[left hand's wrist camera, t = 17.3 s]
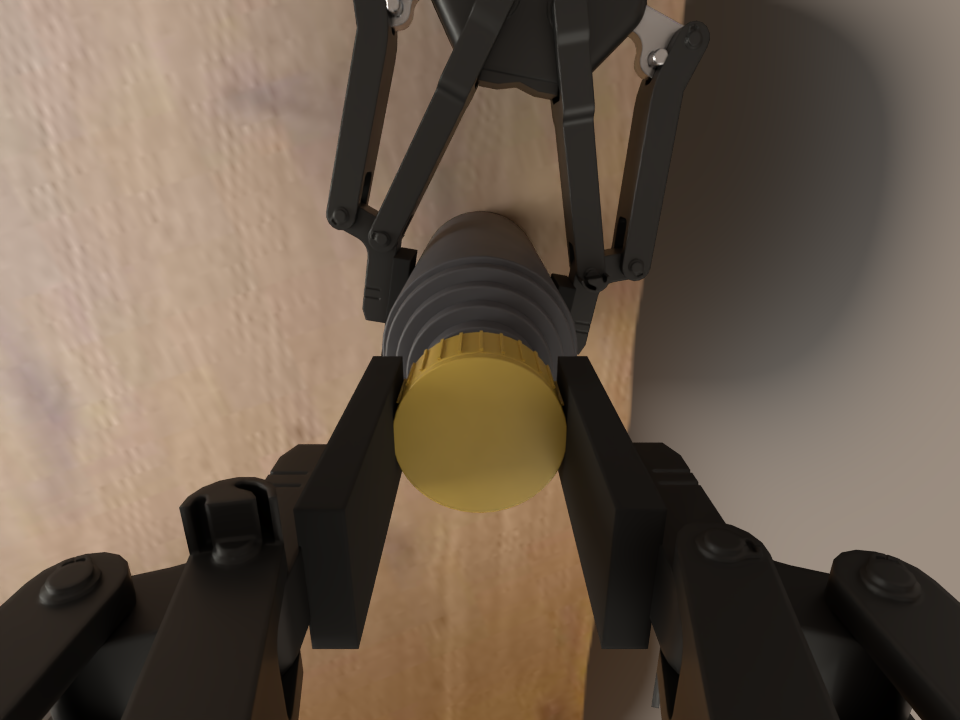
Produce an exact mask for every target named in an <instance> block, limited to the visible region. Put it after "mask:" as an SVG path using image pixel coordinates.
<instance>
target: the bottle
mask: <svg viewBox="0 0 960 720" xmlns="http://www.w3.org/2000/svg"><path fill="white" fill-rule="evenodd" d="M480 331H483V332H488V333H495V334H500V333H503V336H507V337H510V338H512V339H514V340H516V341H518V340H520V341H522V344H524V345H525V346H527V347H528V348H529V349H531V350H532V351H533V352H534V351H536V352H537V353H538V357H539V358H540V359H541V360H542V361H543V362H544V364H545V365H548V366H549V367H550V371H551V374H552V377H553V380H554V381H556V382H557V363H558V356H577V335H576V330H575V325H574V322H573V319H572V316H571V314H570V311H569V309H568V307H567V306H566V304H565V302H564V300H563V298H562V296H561V295H560V293H559V291H558V289H557V288H556V286H555V284H554V282H553V281H552V279H551V277H550V275H549V274H548V272H547V270H546V268H545V267H544V265H543V263H542V261H541V259H540V258H539V256H538V254H537V252H536V251H535V249H534V247H533V245H532V244H531V242H530V240H529V238H528V237H527V236H526V234H525V233H524V232H523V231H522V229H521V228H520V227H519V226H517V225H516V224H515V223H514V222H512V221H511V220H509V219H507V218H506V217H503V216H501V215H498V214H495V213H491V212H469V213H465V214H461V215H459V216H457V217H454V218H452V219H451V220H449V221H447V222H446V223H445V224H444V225H442V226H441V227H440V228H439V229H438V230H437V231H436V233H435V234H434V235H433V237H432V238H431V240H430V242H429V243H428V245H427V247H426V249H425V250H424V252H423V254H422V256H421V257H420V259H419V261H418V263H417V264H416V266H415V268H414V270H413V271H412V273H411V275H410V277H409V279H408V280H407V282H406V284H405V286H404V287H403V289H402V291H401V293H400V294H399V296H398V298H397V300H396V301H395V303H394V305H393V307H392V309H391V311H390V313H389V316H388V318H387V321H386V324H385V329H384V333H383V344H382V351H383V356H403V375H404V378H405V379H407V377H408V375H409V372H410V369H411V366H412V364H413V362H414V363H416V362H417V361H418V360H419V358H420V357H421V356H422V355H423V354H424V351H425V350H426V349H428V350H429V349H430V348H432V347H433V346H435V345H436V344H438V343H439V342H440V341H441V339H443V338H444V340H445V339H448V338H450V337H453V336H456V335H459V334H460V333H461V332H463V334H465V333H473V332H480Z"/></svg>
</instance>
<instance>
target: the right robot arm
mask: <svg viewBox="0 0 960 720" xmlns="http://www.w3.org/2000/svg"><path fill="white" fill-rule="evenodd" d="M418 1H419V0H353V3H354V10H355V17H356V24H357V31H356V37H355V43H354V49H353V55H352V61H351V67H350V73H349V79H348V85H347V91H346V97H345V103H344V109H343V115H342V121H341V127H340V133H339V139H338V145H337V151H336V157H335V163H334V169H333V175H332V181H331V187H330V193H329V199H328V205H327V211H326V217H327V220H328V222H329V224H330V225H331V226H332V227H333V228H335V229H338V230H344V231H346V232H348V233H349V234H351V235H353V236H355V237H357V238H358V239H360V240H361V241H362V242H363V243H364V245H365V247H366V248H367V252H368V260H367V269H366V279H365V289H364V299H363V308H362V309H363V312H364V315H365V319H366V320H370V321H376V322H382V323H385V324H386V321H387V318H388V316H389V313H390V311H391V309H392V307H393V305H394V303H395V301H396V300H397V298H398V296H399V294H400V293H401V291H402V289H403V287H404V286H405V284H406V282H407V280H408V279H409V277H410V275H411V273H412V271H413V270H414V268H415V265H416V257H417V250H414V249H408V248H403V247H401V242H402V238H403V237H404V236H405V235H404V234H405V232H406V230H407V228H408V226H409V224H410V222H411V220H412V218H413V216H414V214H415V212H416V210H417V208H418V205H419V203H420V201H421V199H422V197H423V195H424V193H425V191H426V189H427V187H428V185H429V183H430V181H431V179H432V177H433V175H434V173H435V171H436V169H437V167H438V165H439V163H440V161H441V159H442V157H443V155H444V153H445V151H446V149H447V147H448V145H449V143H450V141H451V139H452V137H453V134H454V132H455V130H456V128H457V126H458V124H459V122H460V120H461V118H462V116H463V114H464V112H465V110H466V108H467V107H468V105H469V103H470V101H471V99H472V97H473V95H474V93H475V91H476V89H477V87H478V85H479V86H482V87H487V88H492V89H506V88H518V89H520V90H522V91H524V92H526V93H528V94H530V95H532V96H534V97H539V98H544V99H549V100H551V108H552V117H553V122H554V125H555V132H556V142H557V151H558V161H559V170H560V180H561V189H562V199H563V208H564V218H565V228H566V237H567V247H568V256H569V266H570V273H569V277H567V276H565V275H559V274H553V273H552V274H551V279H552V281H553V282H554V284H555V286H556V288H557V289H558V291H559V293H560V295H561V296H562V298H563V300H564V302H565V304H566V306H567V307H568V309H569V311H570V314H571V316H572V319H573V322H574V325H575V330H576V335H577V354H578V355H579V353H580V352H581V350H582V349H583V348H584V346H585V345H586V341H587V337H588V332H589V329H590V324H591V321H592V317H593V313H594V309H595V305H596V301H597V297H598V294H599V292H600V291H602V290H604V289H605V288H606V287H607V285H608V284H609V283H612V282H617V281H622V280H628V279H629V280H632V281H638V280H641V279H643V278H645V276H646V275H647V274H648V273H649V270H650V267H651V261H652V256H653V251H654V246H655V240H656V235H657V230H658V225H659V219H660V214H661V209H662V203H663V198H664V193H665V187H666V182H667V177H668V172H669V166H670V161H671V156H672V150H673V145H674V140H675V134H676V129H677V124H678V119H679V113H680V108H681V103H682V97H683V92H684V90H685V88H686V86H687V84H688V82H689V80H690V79H691V77H692V75H693V73H694V71H695V69H696V67H697V65H698V63H699V62H700V60H701V58H702V56H703V54H704V52H705V50H706V48H707V46H708V43H709V40H710V33H709V30H708V28H707V26H706V25H705V24H704V23H702V22H699V21H693V22H689V23H688V24H686V25H682V24H680V23H678V22H676V21H674V20H673V19H671V18H669V17H667V16H665V15H664V14H662V13H660V12H658V11H656V10H655V9H653V8H651V7H649V6H648V5H647V0H431V1H432V3H433V5H434V8H435V10H436V12H437V14H438V17H439V19H440V21H441V23H442V25H443V28H444V30H445V32H446V34H447V37H448V39H449V41H450V43H451V46H452V48H453V51H452V54H451V56H450V58H449V60H448V62H447V64H446V66H445V68H444V71H443V73H442V75H441V77H440V80H439V83H438V86H437V89H436V91H435V93H434V95H433V97H432V100H431V102H430V104H429V106H428V108H427V110H426V112H425V114H424V117H423V119H422V121H421V123H420V125H419V127H418V129H417V131H416V134H415V136H414V138H413V140H412V142H411V144H410V146H409V148H408V151H407V153H406V155H405V157H404V159H403V161H402V163H401V165H400V168H399V170H398V172H397V174H396V176H395V178H394V180H393V182H392V185H391V187H390V189H389V191H388V193H387V195H386V197H385V199H384V202H383V204H382V206H381V208H380V210H379V211H377V210H375V209H373V208H372V207H370V206H368V201H369V196H370V191H371V186H372V180H373V175H374V170H375V165H376V160H377V154H378V149H379V144H380V139H381V133H382V128H383V123H384V118H385V113H386V107H387V102H388V97H389V92H390V86H391V81H392V76H393V71H394V65H395V60H396V52H397V31H401V30H405V29H406V28H408V27H409V25H410V24H411V22H412V20H413V14H414V8H415V6H416V4H417V2H418ZM627 37H629V38H631V39H632V40H633V42H634V43H635V46H636V56H635V61H634V69H635V72H636V74H637V75H638V76H639V77H640V78H642V79H643V80H642V82H641V84H640V87H639V90H638V94H637V97H636V102H635V106H634V112H633V118H632V124H631V131H630V137H629V143H628V149H627V155H626V161H625V168H624V174H623V180H622V186H621V192H620V198H619V205H618V211H617V217H616V223H615V229H614V235H613V242H612V248H611V249H606V250H604V243H603V231H602V219H601V206H600V194H599V182H598V170H597V158H596V146H595V133H594V112H595V102H594V90H593V77H592V72H593V71H594V70H595V69H596V68H597V67H598V66H599V65H600V64H601V63H602V62H603V61H604V60H605V59H606V58H607V57H608V56H609V55H610V54H611V53H612V52H613V51H614V50H615V49H616V48H617V47H618V46H619V45H620V44H621V43H622V42H623V41H624V40H625V39H626V38H627ZM381 356H383V351H382V355H381Z"/></svg>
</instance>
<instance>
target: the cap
mask: <svg viewBox="0 0 960 720" xmlns="http://www.w3.org/2000/svg"><path fill="white" fill-rule="evenodd" d="M396 403H398V407H397V410H396V413H395V417H394V421H393V426H394V444H395V456H396V459H397V461H398V463H399V466H400V468H401V470H402V471H403V473H404V474H405V476H406V477H407V479H408V480H409V481H410V482H411V483H412V484H413V486H414V487H415V488H416V489H418V490H419V491H420V492H421V493H422V494H424V495H425V496H427V497H428V498H429V499H431V500H433V501H435V502H437V503H439V504H441V505H443V506H446V507H448V508H451V509H455V510H459V511H465V512H473V513H486V512H495V511H500V510H505V509H508V508H511V507H514V506H517V505H519V504H521V503H523V502H525V501H527V500H528V499H530V498H532V497H533V496H535V495H536V494H537V493H539V492H540V491H541V490H542V489H543V488H544V487H545V486H546V485H547V484H548V483H549V482H550V481H551V479H552V478H553V477H554V476H555V474H556V472H557V471H558V469H559V467H560V465H561V463H562V460H563V458H564V455H565V449H566V432H567V423H566V418H565V414H564V411H563V408H562V406H564V403H563V400H562V397H561V394H560V391H559V388H558V385H557V382H556V381H554V380H553V377H552V374H551V371H550V367H549V366H548V365H545V364H544V362H543V361H542V360H541V359H540V358H539V357H538V353H537V352H536V351H534V352H533V351H532V350H531V349H529V348H528V347H527V346H525V345H524V344H522V341H520V340H518V341H516V340H514V339H512V338H510V337H507V336H503V333H500V334H495V333H488V332H483V331H480V332H473V333H465V334H463V332H461V333H460V334H459V335H456V336H453V337H450V338H448V339H445V340H444V338H443V339H441V341H440V342H439V343H438V344H436V345H435V346H433V347H432V348H430V349H429V350H428V349H426V350H425V351H424V354H423V355H422V356H421V357H420V358H419V360H418V361H417V362H416V363H414V362H413V364H412V366H411V369H410V372H409V375H408V377H407V379H405V378H404V381H403V384H402V387H401V390H400V393H399V396H398V399H397V402H396Z"/></svg>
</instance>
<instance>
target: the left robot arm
mask: <svg viewBox="0 0 960 720" xmlns="http://www.w3.org/2000/svg"><path fill="white" fill-rule="evenodd" d="M403 381H404V375H403V356H373V358H372V359H371V361H370V363H369V365H368V367H367V369H366V371H365V373H364V375H363V377H362V379H361V380H360V382H359V384H358V386H357V388H356V390H355V392H354V394H353V396H352V398H351V400H350V401H349V403H348V405H347V407H346V409H345V411H344V413H343V415H342V417H341V419H340V420H339V422H338V424H337V426H336V428H335V430H334V432H333V434H332V436H331V438H330V440H329V441H328V443H327V444H298V445H297V446H295V447H294V448H292V449H291V450H290V451H288V452H287V453H285V454H284V455H282V456H281V457H280V458H279V460H278V461H277V463H276V464H275V466H274V467H273V469H272V470H271V472H270V475H268V476H267V478H266V479H265V480H264V479H260V478H256V477H236V478H231V479H226V480H221V481H218V482H215V483H213V484H210V485H208V486H205V487H202V488H201V489H199V490H198V491H196V492H195V493H193V494H192V495H190V496H188V497H187V499H186V500H185V501H184V502H183V503H182V505H181V506H180V507H179V509H180V513H181V517H182V522H183V526H184V531H185V535H186V540H187V544H188V549H189V553H190V556H189V558H188V560H187V563H185V564H181V565H178V566H174V567H171V568H166V569H162V570H157V571H152V572H148V573H143V574H138V575H133V576H131V573H130V569H129V566H128V562H127V561H126V560H125V559H123V558H122V557H121V556H120V555H117V554H112V553H107V552H102V553H92V554H84V555H81V556H76V557H73V558H70V559H67V560H64V561H62V562H60V563H58V564H56V565H54V566H52V567H50V568H48V569H46V570H44V571H42V572H41V573H40V574H38V575H37V576H35V577H34V578H33V579H31V580H30V581H28V582H27V583H26V584H25V585H24V586H22V587H21V588H20V589H19V590H18V591H17V592H16V593H15V594H14V595H12V596H11V597H10V598H9V599H8V600H7V601H6V602H5V603H4V604H3V605H1V606H0V720H298V718H299V708H300V699H301V689H302V680H303V666H302V659H301V653H300V648H301V645H302V643H303V640H304V637H305V634H306V631H307V629H308V626H309V627H310V635H311V642H312V649H359V645H360V641H361V637H362V633H363V629H364V625H365V620H366V616H367V612H368V608H369V604H370V600H371V596H372V592H373V588H374V584H375V580H376V575H377V571H378V567H379V563H380V559H381V555H382V551H383V547H384V543H385V539H386V535H387V531H388V526H389V522H390V518H391V514H392V510H393V506H394V502H395V498H396V494H397V490H398V486H399V481H400V477H401V473H402V470H401V468H400V466H399V463H398V461H397V459H396V456H395V444H394V426H393V421H394V417H395V413H396V410H397V407H398V403H396V402H397V399H398V396H399V393H400V390H401V387H402V384H403ZM557 385H558V388H559V391H560V394H561V397H562V400H563V403H564V406H562V408H563V411H564V414H565V418H566V423H567V432H566V449H565V455H564V458H563V460H562V463H561V465H560V467H559V469H558V472H559V476H560V480H561V484H562V488H563V492H564V496H565V501H566V505H567V509H568V513H569V517H570V521H571V525H572V529H573V533H574V537H575V541H576V545H577V550H578V554H579V558H580V562H581V566H582V570H583V574H584V578H585V582H586V586H587V590H588V595H589V599H590V603H591V607H592V611H593V615H594V619H595V623H596V627H597V631H598V635H599V639H600V644H601V647H602V649H648V644H649V637H650V630H651V623H652V625H653V628H654V630H655V633H656V636H657V639H658V641H659V644H660V653H659V659H658V666H657V673H656V679H655V686H654V693H653V700H652V707H655V708H659V704H660V707H661V716H662V720H915V719H914V718H913V717H912V715H911V714H910V712H911V709H912V708H913V710H914V711H915V712H916V713H917V714H918V716H919V717H920V718H921V719H922V720H960V602H958V601H957V600H956V599H955V598H954V597H953V596H952V595H951V594H950V593H948V592H947V591H946V590H945V589H944V588H943V587H942V586H941V585H940V584H938V583H937V582H936V581H935V580H934V579H932V578H931V577H929V576H928V575H927V574H925V573H924V572H922V571H921V570H920V569H918V568H916V567H914V566H912V565H910V564H908V563H906V562H904V561H902V560H900V559H898V558H895V557H893V556H890V555H885V554H883V553H878V552H873V551H863V550H853V551H847V552H842V553H841V554H839V555H838V556H837V557H836V558H835V559H834V560H833V564H832V567H831V571H830V574H829V573H824V572H819V571H815V570H810V569H805V568H801V567H796V566H791V565H787V564H784V563H780V562H777V561H774V560H773V559H772V557H771V555H770V553H769V552H768V550H767V549H766V547H765V546H764V545H763V543H762V542H761V541H759V540H758V539H757V538H755V537H754V536H753V535H751V534H750V533H748V532H746V531H744V530H742V529H739V528H737V527H735V526H733V525H729V524H726V523H725V522H724V520H723V519H722V517H721V516H720V514H719V513H718V511H717V510H716V508H715V507H714V505H713V504H712V502H711V501H710V499H709V498H708V496H707V495H706V493H705V492H704V490H703V488H702V487H701V486H700V485H698V481H697V479H696V478H695V476H694V475H693V473H690V469H689V467H688V466H687V464H686V463H685V461H684V460H683V458H682V457H681V455H679V454H678V453H677V452H675V451H674V450H672V449H671V448H669V447H668V446H666V445H665V444H664V443H632V441H631V439H630V437H629V435H628V433H627V431H626V429H625V427H624V426H623V424H622V422H621V420H620V418H619V416H618V414H617V412H616V410H615V408H614V406H613V405H612V403H611V401H610V399H609V397H608V395H607V393H606V391H605V389H604V387H603V385H602V384H601V382H600V380H599V378H598V376H597V374H596V372H595V370H594V368H593V366H592V365H591V363H590V361H589V359H588V357H587V356H558V363H557Z"/></svg>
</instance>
